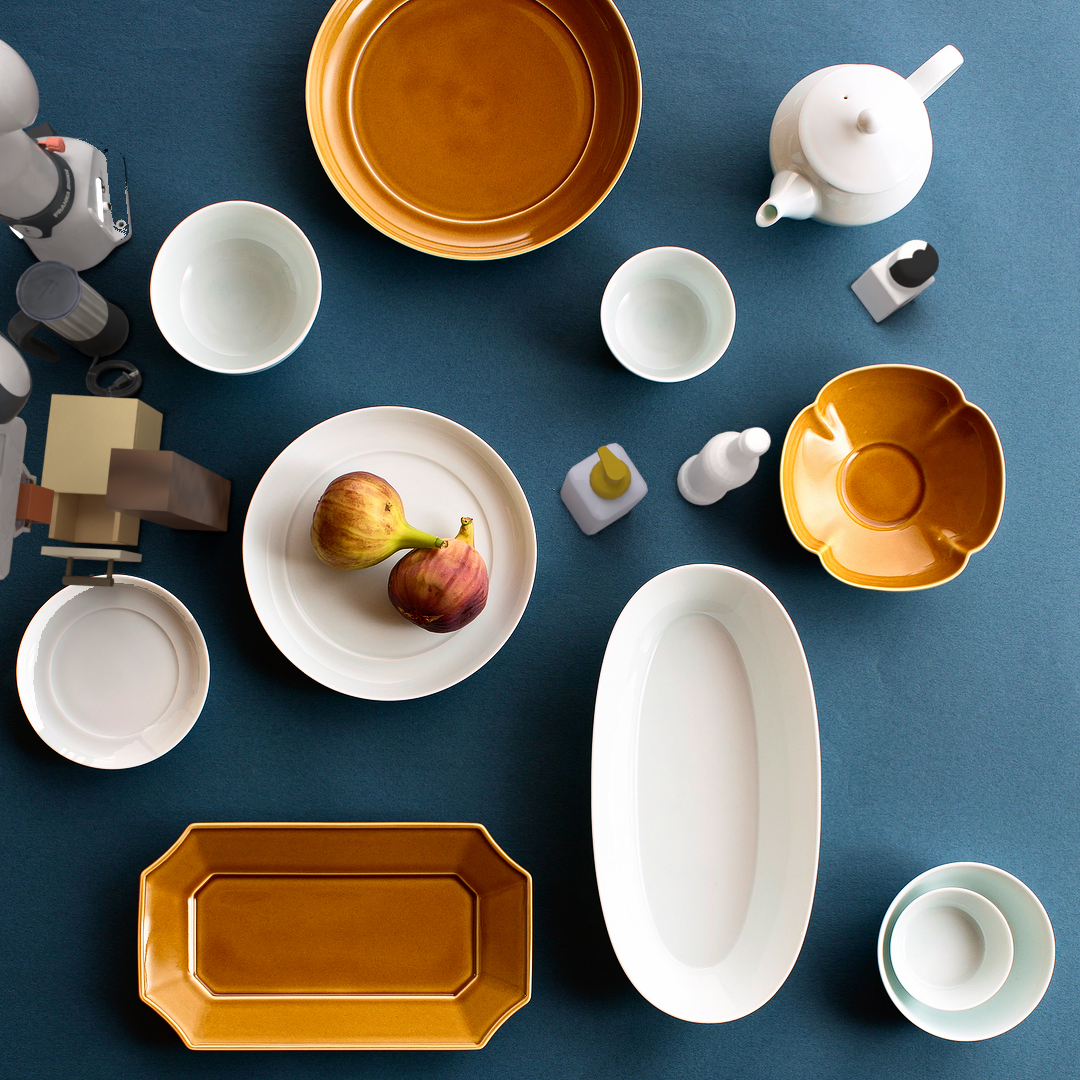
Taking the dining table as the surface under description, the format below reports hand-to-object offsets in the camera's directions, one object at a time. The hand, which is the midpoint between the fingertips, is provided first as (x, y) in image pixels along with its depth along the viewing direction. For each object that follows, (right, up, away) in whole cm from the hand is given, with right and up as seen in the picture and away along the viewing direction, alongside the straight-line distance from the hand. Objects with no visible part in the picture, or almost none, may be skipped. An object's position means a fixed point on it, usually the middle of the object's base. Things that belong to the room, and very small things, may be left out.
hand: (27, 504), depth 102 cm
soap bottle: (+75, +2, +25) cm, 79 cm away
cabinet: (0, +9, +23) cm, 24 cm away
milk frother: (-3, +26, +25) cm, 36 cm away
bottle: (+92, +5, +26) cm, 96 cm away
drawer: (-1, -3, +20) cm, 21 cm away
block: (0, 0, +2) cm, 2 cm away
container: (+124, +37, +31) cm, 133 cm away
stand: (+13, +1, +22) cm, 26 cm away
